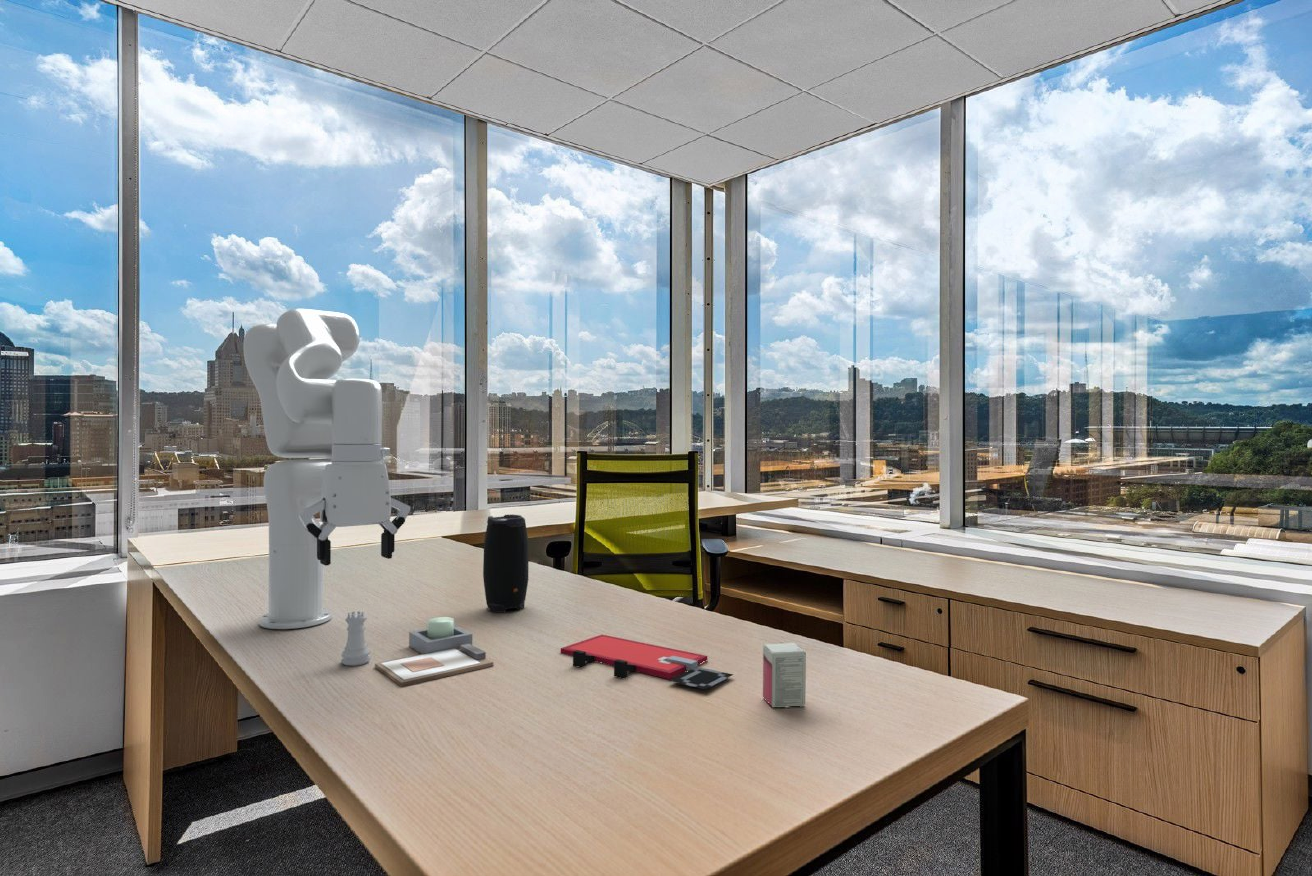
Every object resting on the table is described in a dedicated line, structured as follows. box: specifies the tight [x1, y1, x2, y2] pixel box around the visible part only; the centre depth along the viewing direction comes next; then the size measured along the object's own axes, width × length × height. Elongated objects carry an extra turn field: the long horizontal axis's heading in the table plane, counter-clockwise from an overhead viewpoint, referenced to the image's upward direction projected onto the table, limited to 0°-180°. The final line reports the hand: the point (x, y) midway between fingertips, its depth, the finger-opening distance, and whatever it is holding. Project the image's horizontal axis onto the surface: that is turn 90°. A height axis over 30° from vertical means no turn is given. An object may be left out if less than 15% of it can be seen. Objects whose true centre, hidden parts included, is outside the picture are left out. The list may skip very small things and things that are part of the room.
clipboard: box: [374, 644, 494, 688], centre depth 115 cm, size 11×15×2 cm
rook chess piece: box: [340, 610, 371, 667], centre depth 117 cm, size 4×4×8 cm
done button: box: [426, 616, 455, 640], centre depth 125 cm, size 4×4×3 cm
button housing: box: [408, 624, 473, 654], centre depth 125 cm, size 8×8×2 cm
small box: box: [762, 642, 807, 708], centre depth 102 cm, size 5×4×8 cm
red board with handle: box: [560, 634, 734, 690], centre depth 118 cm, size 30×3×15 cm
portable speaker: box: [482, 514, 530, 613], centre depth 152 cm, size 9×9×20 cm
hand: (356, 560), depth 117 cm, fingers open, 9 cm apart
